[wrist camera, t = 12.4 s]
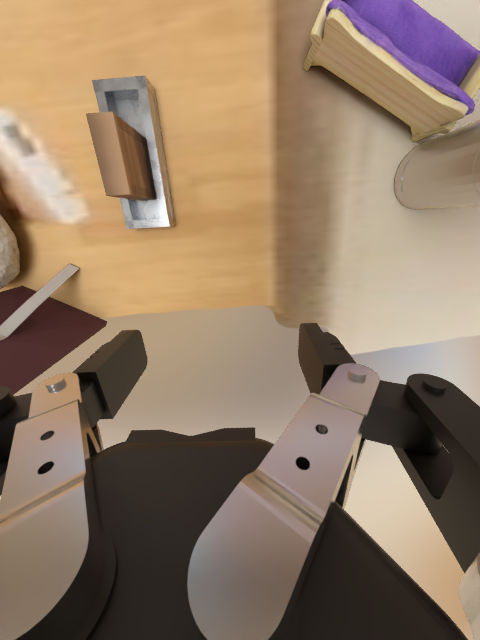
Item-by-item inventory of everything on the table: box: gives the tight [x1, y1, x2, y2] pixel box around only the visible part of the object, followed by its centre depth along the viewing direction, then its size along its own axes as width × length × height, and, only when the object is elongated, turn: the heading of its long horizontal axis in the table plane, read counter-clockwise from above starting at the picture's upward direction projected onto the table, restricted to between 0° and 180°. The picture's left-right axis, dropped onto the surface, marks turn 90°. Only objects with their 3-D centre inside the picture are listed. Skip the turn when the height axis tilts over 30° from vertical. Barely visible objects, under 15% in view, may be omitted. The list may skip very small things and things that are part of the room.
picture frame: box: [0, 264, 107, 394], centre depth 34 cm, size 17×10×25 cm, turn 63°
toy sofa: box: [303, 0, 480, 142], centre depth 28 cm, size 21×9×10 cm, turn 65°
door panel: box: [86, 112, 157, 201], centre depth 32 cm, size 3×8×10 cm, turn 3°
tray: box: [92, 76, 176, 229], centre depth 35 cm, size 7×18×4 cm, turn 3°
